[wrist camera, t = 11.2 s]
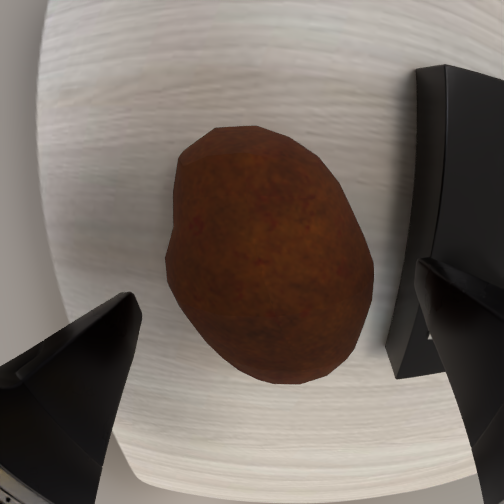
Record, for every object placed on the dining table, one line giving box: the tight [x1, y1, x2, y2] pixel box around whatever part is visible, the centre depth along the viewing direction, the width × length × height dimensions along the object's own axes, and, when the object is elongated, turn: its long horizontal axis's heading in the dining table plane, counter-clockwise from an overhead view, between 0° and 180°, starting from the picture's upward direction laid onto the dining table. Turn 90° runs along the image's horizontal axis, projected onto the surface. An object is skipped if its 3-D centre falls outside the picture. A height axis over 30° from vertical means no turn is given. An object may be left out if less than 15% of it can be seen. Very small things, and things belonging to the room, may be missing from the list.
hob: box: [385, 64, 504, 379], centre depth 11 cm, size 15×10×3 cm, turn 4°
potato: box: [165, 126, 374, 384], centre depth 10 cm, size 7×9×6 cm
